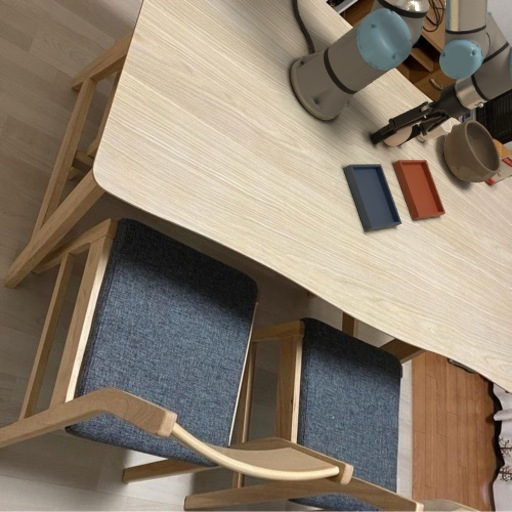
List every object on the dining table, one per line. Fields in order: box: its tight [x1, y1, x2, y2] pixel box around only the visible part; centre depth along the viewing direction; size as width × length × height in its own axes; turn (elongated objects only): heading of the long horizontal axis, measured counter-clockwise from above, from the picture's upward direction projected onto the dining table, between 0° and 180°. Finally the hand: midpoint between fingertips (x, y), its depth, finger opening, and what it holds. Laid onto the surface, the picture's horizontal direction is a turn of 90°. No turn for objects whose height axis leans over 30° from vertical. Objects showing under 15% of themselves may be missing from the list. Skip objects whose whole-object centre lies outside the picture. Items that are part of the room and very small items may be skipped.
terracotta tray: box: [392, 159, 447, 221], centre depth 147 cm, size 15×13×2 cm
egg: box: [383, 125, 412, 147], centre depth 142 cm, size 6×6×8 cm
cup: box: [411, 118, 453, 142], centre depth 154 cm, size 7×10×8 cm
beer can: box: [485, 153, 512, 185], centre depth 172 cm, size 6×6×16 cm
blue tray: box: [343, 163, 403, 232], centre depth 132 cm, size 15×12×2 cm
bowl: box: [442, 119, 501, 184], centre depth 163 cm, size 17×18×10 cm
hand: (385, 140), depth 145 cm, fingers open, 10 cm apart
